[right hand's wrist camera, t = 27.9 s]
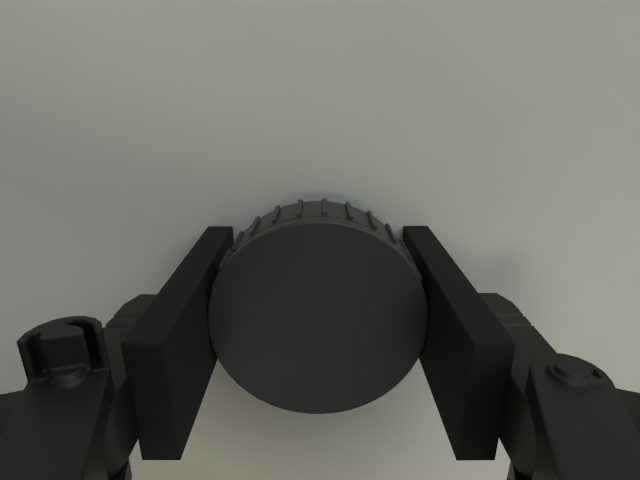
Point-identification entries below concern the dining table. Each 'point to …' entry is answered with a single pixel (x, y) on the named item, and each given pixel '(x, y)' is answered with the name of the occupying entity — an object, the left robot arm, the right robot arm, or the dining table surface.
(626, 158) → the dining table surface
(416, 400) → the dining table surface
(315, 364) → the lid
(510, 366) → the right robot arm
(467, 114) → the dining table surface
